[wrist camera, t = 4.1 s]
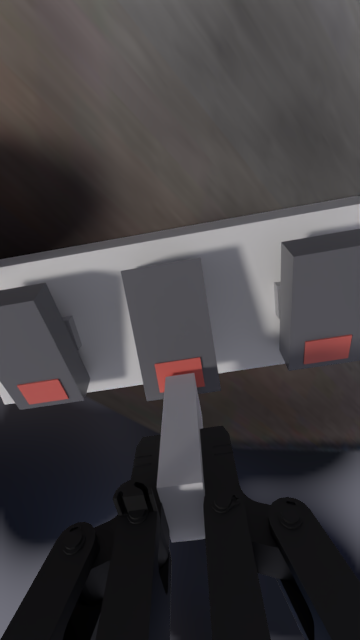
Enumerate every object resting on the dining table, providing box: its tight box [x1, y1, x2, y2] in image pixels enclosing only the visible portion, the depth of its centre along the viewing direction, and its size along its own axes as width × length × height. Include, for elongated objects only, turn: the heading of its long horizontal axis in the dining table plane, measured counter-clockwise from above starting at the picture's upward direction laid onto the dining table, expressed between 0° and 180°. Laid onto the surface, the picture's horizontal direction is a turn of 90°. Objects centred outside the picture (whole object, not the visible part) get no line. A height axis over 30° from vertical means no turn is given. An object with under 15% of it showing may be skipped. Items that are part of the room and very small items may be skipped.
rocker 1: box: [0, 283, 90, 410], centre depth 17 cm, size 7×4×2 cm, turn 10°
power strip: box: [0, 196, 360, 405], centre depth 21 cm, size 9×33×5 cm, turn 100°
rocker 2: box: [121, 257, 221, 401], centre depth 17 cm, size 7×4×2 cm, turn 10°
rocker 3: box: [279, 229, 360, 371], centre depth 16 cm, size 7×4×2 cm, turn 10°
